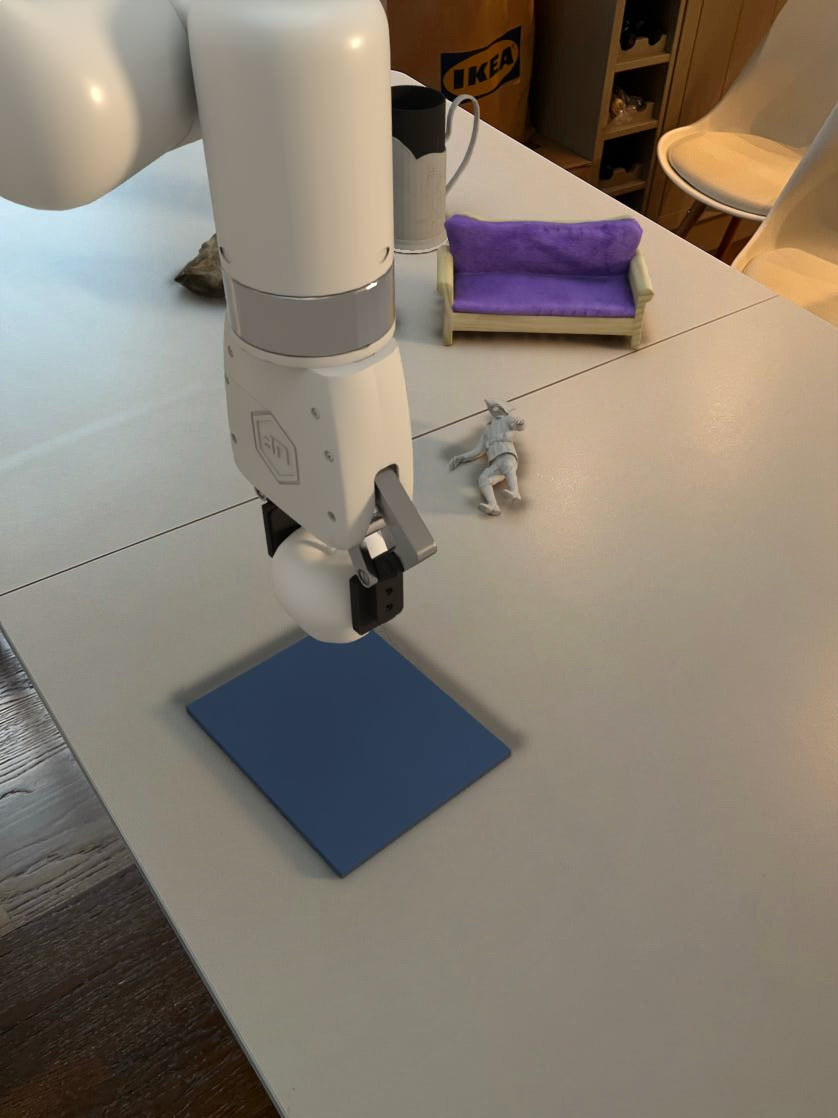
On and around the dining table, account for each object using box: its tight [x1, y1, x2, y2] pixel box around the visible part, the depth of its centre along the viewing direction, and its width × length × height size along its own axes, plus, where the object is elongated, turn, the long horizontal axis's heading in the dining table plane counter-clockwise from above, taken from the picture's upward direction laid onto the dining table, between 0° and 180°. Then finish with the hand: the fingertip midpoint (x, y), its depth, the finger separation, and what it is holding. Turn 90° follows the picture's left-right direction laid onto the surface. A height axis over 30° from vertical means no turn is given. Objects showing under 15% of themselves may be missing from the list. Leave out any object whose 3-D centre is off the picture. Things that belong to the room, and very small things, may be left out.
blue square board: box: [185, 629, 512, 879], centre depth 69 cm, size 14×17×1 cm
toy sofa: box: [436, 210, 655, 350], centre depth 103 cm, size 21×9×10 cm, turn 91°
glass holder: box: [391, 84, 481, 251], centre depth 115 cm, size 9×14×15 cm, turn 132°
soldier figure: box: [448, 397, 527, 516], centre depth 88 cm, size 8×5×12 cm
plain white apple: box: [270, 527, 387, 643], centre depth 59 cm, size 7×7×8 cm
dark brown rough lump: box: [173, 232, 226, 299], centre depth 107 cm, size 8×7×10 cm
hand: (334, 582), depth 59 cm, fingers closed on plain white apple, 7 cm apart
